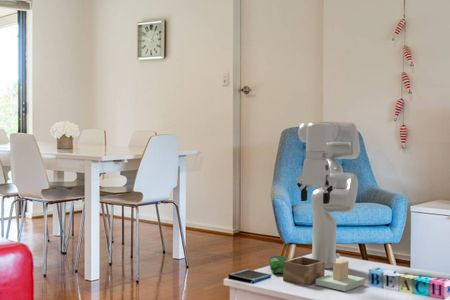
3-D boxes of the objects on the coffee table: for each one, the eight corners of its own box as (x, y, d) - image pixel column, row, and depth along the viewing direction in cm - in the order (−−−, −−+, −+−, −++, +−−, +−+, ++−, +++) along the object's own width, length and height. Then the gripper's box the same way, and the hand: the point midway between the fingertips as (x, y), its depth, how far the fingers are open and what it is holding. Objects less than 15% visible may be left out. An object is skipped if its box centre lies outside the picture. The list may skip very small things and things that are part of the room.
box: (301, 275, 218) (302, 256, 218) (324, 280, 211) (324, 261, 211) (282, 280, 209) (283, 261, 209) (305, 286, 202) (306, 266, 202)
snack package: (270, 276, 216) (271, 262, 216) (268, 266, 231) (269, 253, 231) (289, 277, 216) (290, 263, 215) (286, 266, 231) (286, 254, 231)
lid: (335, 277, 213) (336, 256, 213) (364, 283, 205) (365, 261, 205) (315, 284, 203) (316, 262, 203) (345, 291, 195) (345, 267, 195)
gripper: (341, 157, 210) (340, 203, 210) (302, 155, 222) (301, 199, 222) (330, 157, 204) (329, 205, 205) (291, 155, 216) (290, 200, 216)
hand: (314, 202), depth 213 cm, fingers open, 9 cm apart
